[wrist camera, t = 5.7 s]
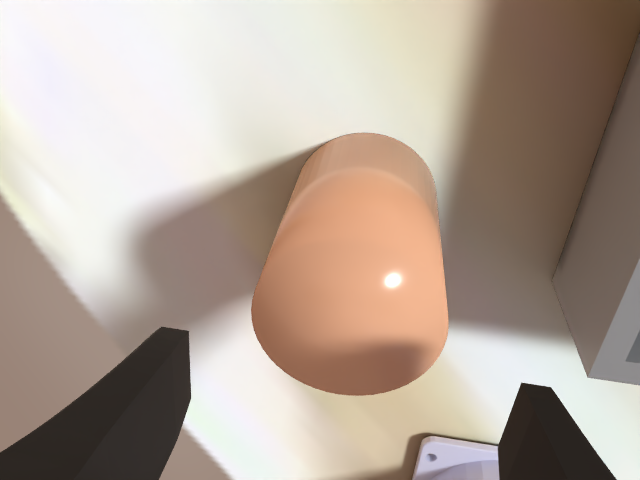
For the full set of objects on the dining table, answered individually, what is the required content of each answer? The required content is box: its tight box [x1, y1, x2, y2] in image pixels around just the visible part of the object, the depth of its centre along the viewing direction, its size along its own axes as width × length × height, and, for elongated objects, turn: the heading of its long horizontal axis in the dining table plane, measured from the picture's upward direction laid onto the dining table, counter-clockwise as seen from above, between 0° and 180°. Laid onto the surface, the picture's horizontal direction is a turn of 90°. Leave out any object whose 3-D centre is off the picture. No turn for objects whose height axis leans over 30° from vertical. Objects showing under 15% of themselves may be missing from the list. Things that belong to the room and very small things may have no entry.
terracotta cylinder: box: [251, 133, 448, 395], centre depth 18 cm, size 5×5×7 cm
